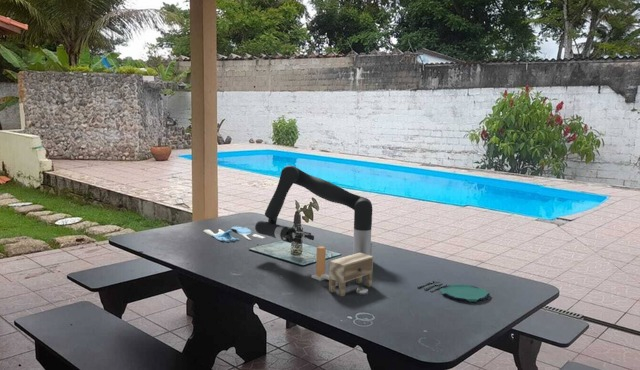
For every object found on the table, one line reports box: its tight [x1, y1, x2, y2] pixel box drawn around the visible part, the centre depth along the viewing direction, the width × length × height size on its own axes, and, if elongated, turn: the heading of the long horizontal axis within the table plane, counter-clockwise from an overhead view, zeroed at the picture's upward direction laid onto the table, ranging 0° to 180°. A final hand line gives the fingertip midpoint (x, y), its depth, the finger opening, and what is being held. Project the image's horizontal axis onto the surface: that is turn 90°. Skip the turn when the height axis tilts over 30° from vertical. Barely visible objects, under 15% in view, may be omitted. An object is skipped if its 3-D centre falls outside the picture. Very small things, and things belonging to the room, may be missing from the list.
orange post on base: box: [311, 245, 347, 287], centre depth 252 cm, size 16×8×15 cm, turn 44°
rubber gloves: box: [203, 226, 266, 243], centre depth 332 cm, size 27×33×6 cm
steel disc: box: [355, 286, 369, 296], centre depth 238 cm, size 5×5×2 cm
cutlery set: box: [417, 280, 490, 303], centre depth 242 cm, size 20×30×2 cm, turn 48°
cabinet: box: [328, 253, 374, 297], centre depth 241 cm, size 10×20×14 cm, turn 134°
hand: (307, 239), depth 261 cm, fingers open, 8 cm apart
